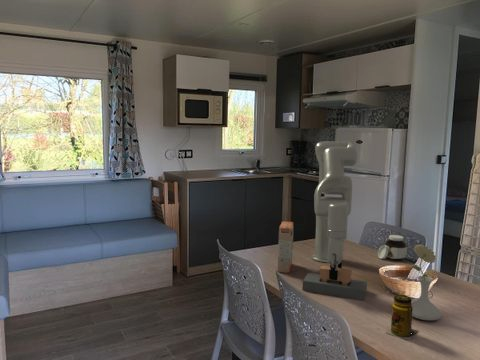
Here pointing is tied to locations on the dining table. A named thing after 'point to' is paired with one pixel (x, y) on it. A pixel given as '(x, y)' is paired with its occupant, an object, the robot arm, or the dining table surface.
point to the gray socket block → (335, 287)
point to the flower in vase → (424, 288)
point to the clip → (343, 274)
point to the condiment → (402, 317)
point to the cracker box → (285, 247)
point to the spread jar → (393, 248)
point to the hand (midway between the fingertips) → (335, 275)
